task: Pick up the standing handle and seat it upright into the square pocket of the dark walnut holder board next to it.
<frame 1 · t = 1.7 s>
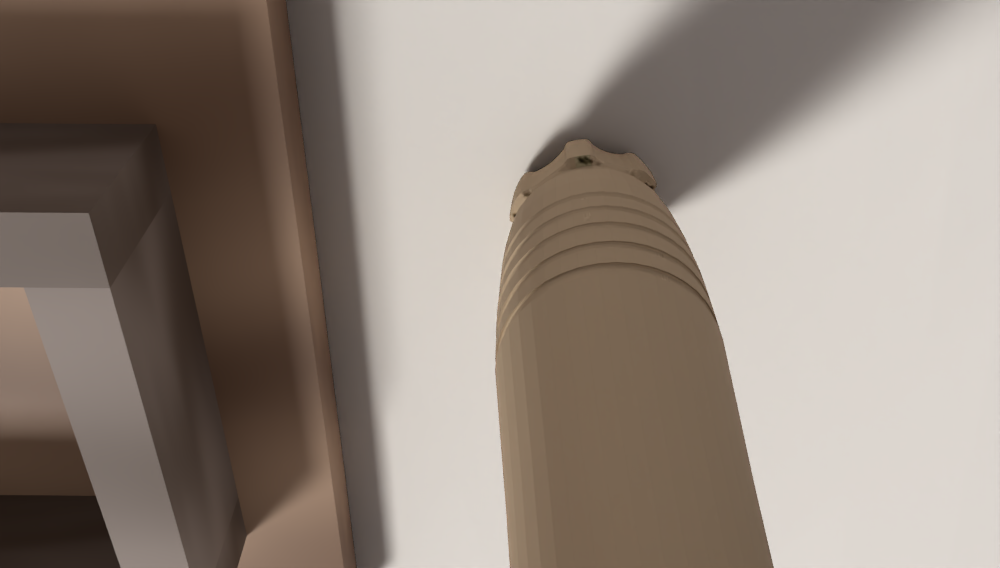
handle: (583, 194, 21), on the table
holder: (2, 322, 23), on the table
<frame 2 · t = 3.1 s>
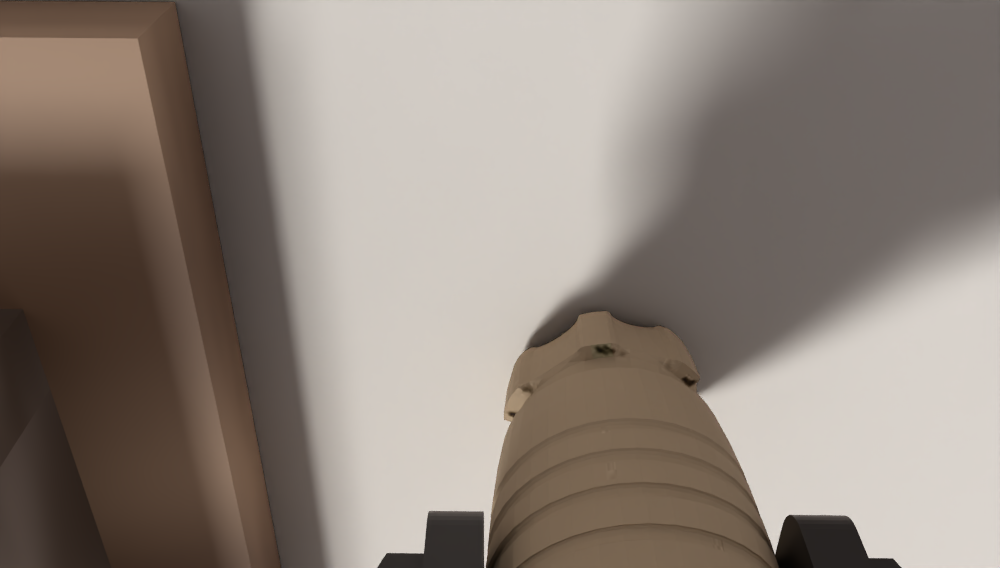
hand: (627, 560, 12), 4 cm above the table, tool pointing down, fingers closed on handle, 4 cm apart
handle: (600, 370, 16), on the table, touching gripper
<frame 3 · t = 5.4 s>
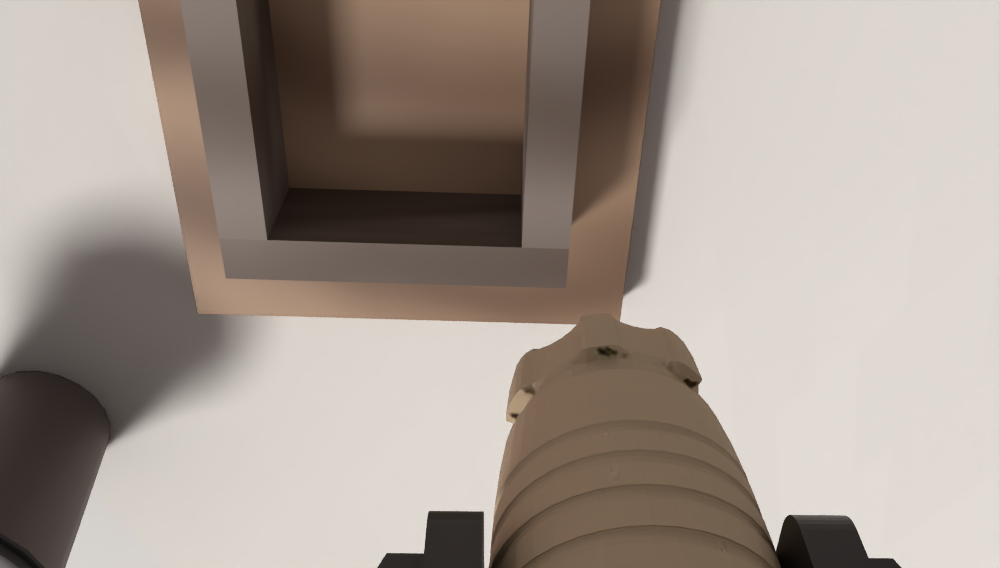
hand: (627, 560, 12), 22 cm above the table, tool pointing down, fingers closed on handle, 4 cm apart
handle: (602, 371, 16), point 17 cm above the table, touching gripper
coffee cup: (49, 415, 40), on the table
holder: (405, 49, 30), on the table
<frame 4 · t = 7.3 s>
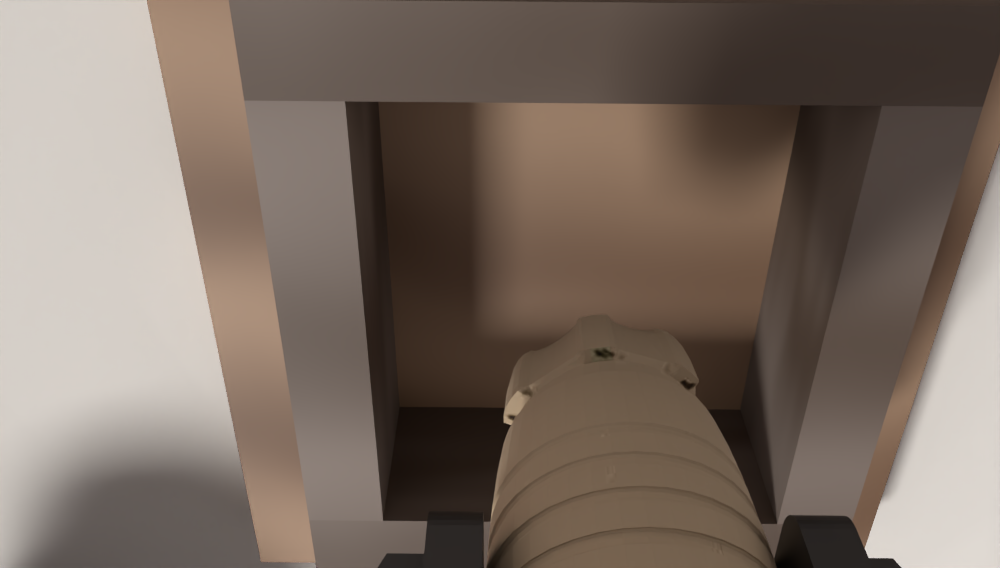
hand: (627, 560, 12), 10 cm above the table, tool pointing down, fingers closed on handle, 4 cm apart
handle: (599, 373, 16), point 5 cm above the table, touching gripper
holder: (575, 208, 20), on the table
when the fingers open (7 cm above the table, at t = 8.1 s): handle drops 1 cm, resting on holder.
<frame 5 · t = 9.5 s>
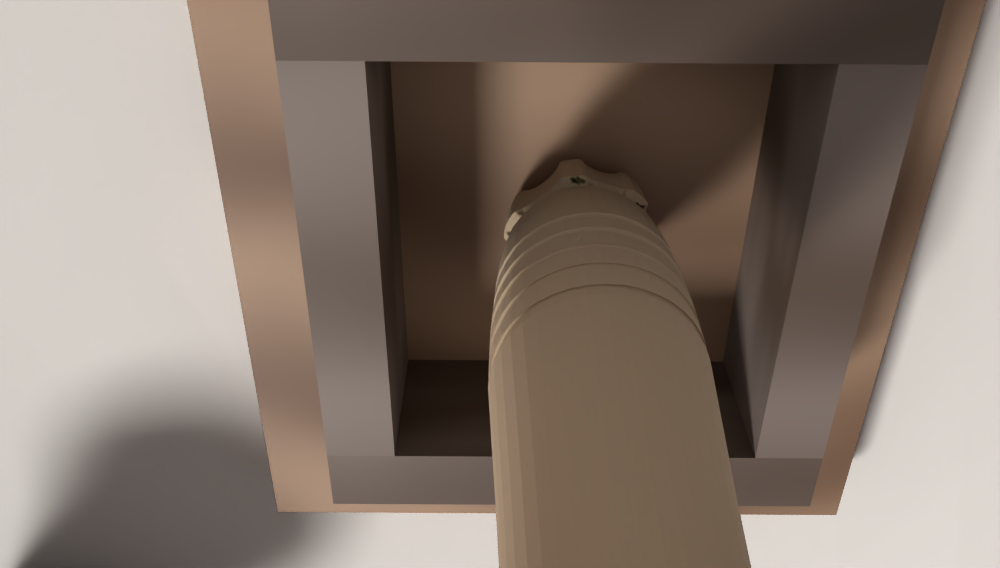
handle: (576, 212, 21), point 1 cm above the table, touching holder
holder: (570, 174, 22), on the table
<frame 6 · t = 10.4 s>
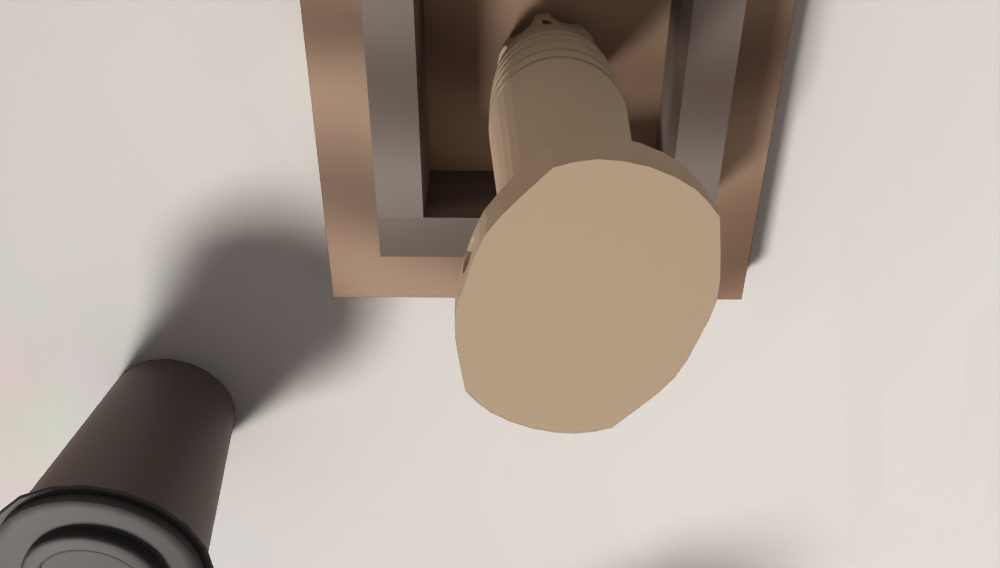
handle: (547, 56, 31), point 1 cm above the table, touching holder
coffee cup: (176, 403, 41), on the table
holder: (544, 34, 32), on the table
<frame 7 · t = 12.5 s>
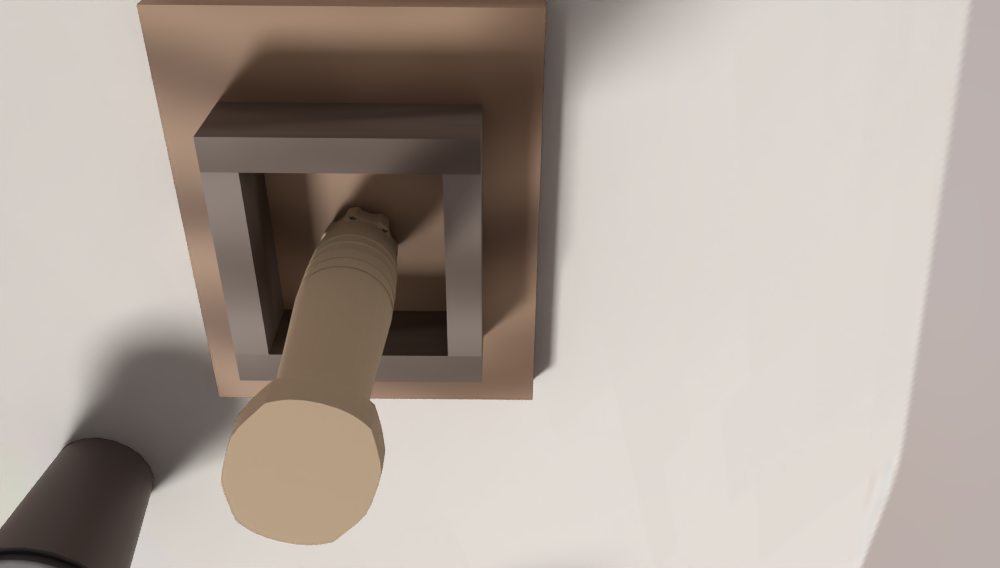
handle: (363, 232, 42), point 1 cm above the table, touching holder
coffee cup: (106, 470, 52), on the table
holder: (365, 212, 42), on the table
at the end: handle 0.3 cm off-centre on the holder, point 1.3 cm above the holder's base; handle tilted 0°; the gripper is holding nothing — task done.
